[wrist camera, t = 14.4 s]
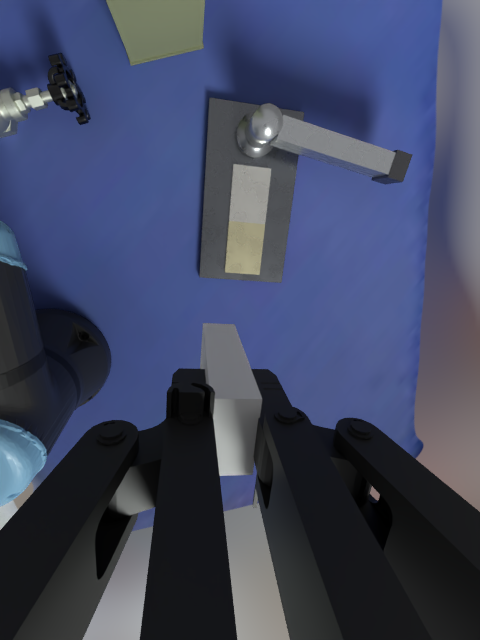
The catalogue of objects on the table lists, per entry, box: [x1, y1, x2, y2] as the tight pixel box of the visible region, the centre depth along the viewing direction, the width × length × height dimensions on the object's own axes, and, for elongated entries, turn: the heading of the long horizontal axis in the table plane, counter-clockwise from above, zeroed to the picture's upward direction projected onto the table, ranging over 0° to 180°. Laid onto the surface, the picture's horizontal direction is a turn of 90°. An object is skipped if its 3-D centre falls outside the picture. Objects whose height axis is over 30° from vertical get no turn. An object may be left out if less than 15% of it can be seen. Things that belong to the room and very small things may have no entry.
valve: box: [0, 53, 91, 138], centre depth 35 cm, size 7×7×12 cm
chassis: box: [199, 98, 304, 283], centre depth 43 cm, size 12×22×2 cm, turn 174°
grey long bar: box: [245, 103, 412, 184], centre depth 39 cm, size 19×3×6 cm, turn 76°
